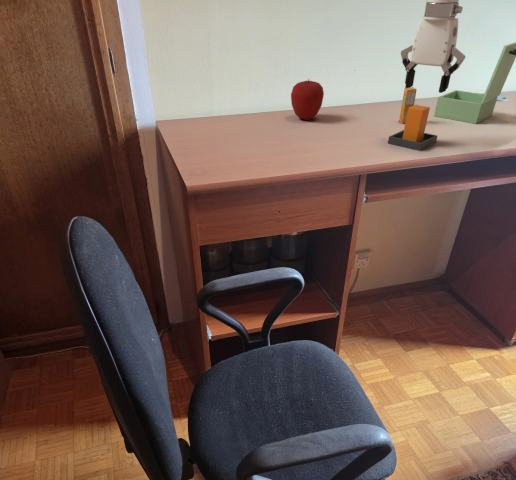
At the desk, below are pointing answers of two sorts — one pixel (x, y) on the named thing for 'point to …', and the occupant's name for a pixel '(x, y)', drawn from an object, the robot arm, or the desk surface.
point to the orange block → (415, 123)
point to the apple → (307, 99)
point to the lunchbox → (464, 106)
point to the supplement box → (407, 103)
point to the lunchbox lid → (500, 72)
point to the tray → (427, 141)
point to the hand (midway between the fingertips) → (425, 89)
